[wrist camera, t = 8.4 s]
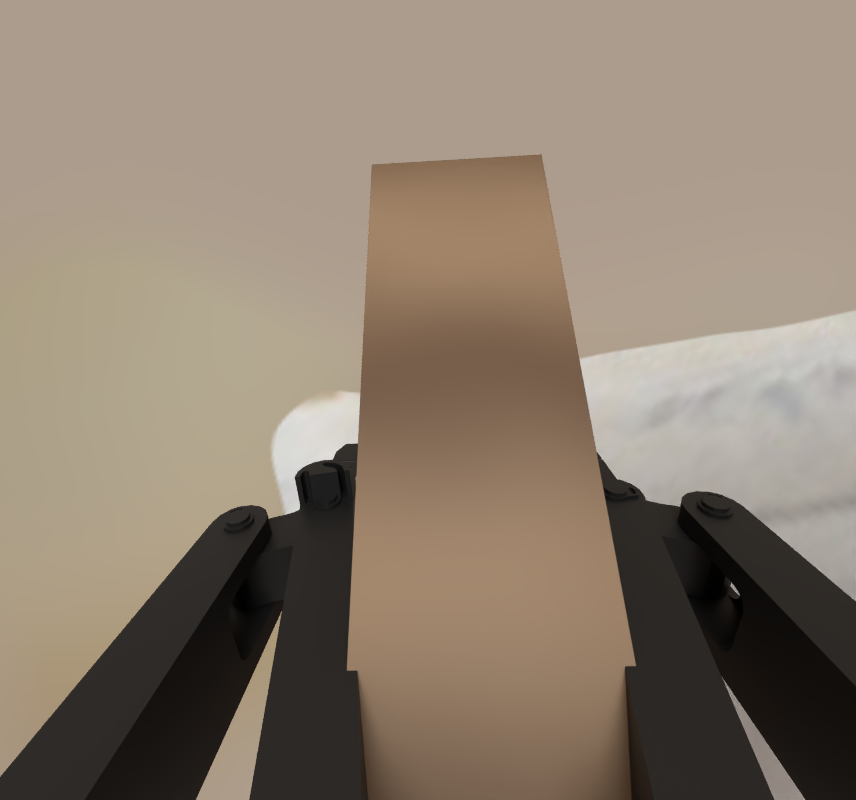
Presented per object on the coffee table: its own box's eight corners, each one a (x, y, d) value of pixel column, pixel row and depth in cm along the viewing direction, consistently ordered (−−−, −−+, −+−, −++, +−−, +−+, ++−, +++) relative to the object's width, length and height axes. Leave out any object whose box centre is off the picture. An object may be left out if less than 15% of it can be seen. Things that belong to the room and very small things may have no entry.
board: (523, 720, 15) (716, 1103, 4) (415, 721, 15) (325, 1094, 4) (492, 379, 21) (541, 154, 10) (413, 381, 21) (371, 164, 10)
